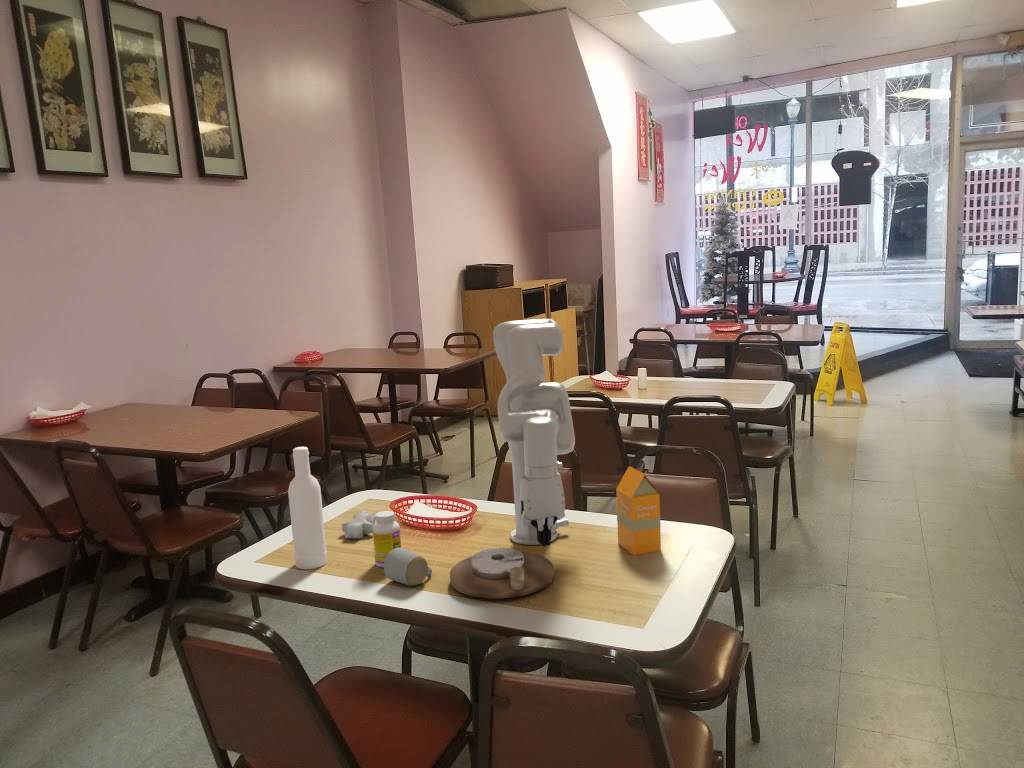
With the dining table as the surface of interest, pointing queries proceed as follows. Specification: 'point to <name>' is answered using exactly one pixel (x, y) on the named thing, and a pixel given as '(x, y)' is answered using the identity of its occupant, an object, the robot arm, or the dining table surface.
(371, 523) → the bunny figurine
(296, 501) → the bottle
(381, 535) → the supplement bottle
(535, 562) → the lazy susan
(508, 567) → the steel cover
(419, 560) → the ceramic mug
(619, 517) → the orange juice
